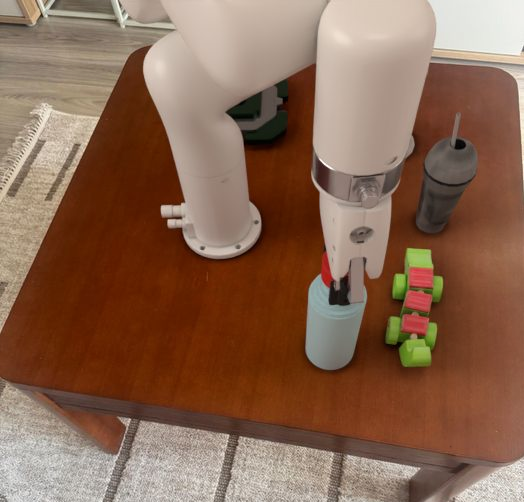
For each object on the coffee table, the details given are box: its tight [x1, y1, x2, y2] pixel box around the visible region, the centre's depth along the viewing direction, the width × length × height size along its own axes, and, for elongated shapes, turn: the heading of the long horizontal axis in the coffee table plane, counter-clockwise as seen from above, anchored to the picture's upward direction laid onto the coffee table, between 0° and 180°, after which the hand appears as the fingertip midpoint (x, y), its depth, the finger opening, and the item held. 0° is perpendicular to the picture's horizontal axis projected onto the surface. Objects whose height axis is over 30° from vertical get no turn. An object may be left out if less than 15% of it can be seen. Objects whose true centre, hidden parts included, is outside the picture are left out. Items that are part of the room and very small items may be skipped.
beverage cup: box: [415, 112, 479, 234], centre depth 74 cm, size 7×7×20 cm
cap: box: [320, 250, 348, 288], centre depth 57 cm, size 4×4×3 cm
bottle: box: [304, 273, 368, 371], centre depth 65 cm, size 7×7×20 cm
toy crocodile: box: [385, 247, 444, 368], centre depth 73 cm, size 20×7×6 cm, turn 167°
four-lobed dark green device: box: [225, 78, 289, 146], centre depth 94 cm, size 18×18×5 cm
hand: (339, 283), depth 59 cm, fingers closed on cap, 4 cm apart
